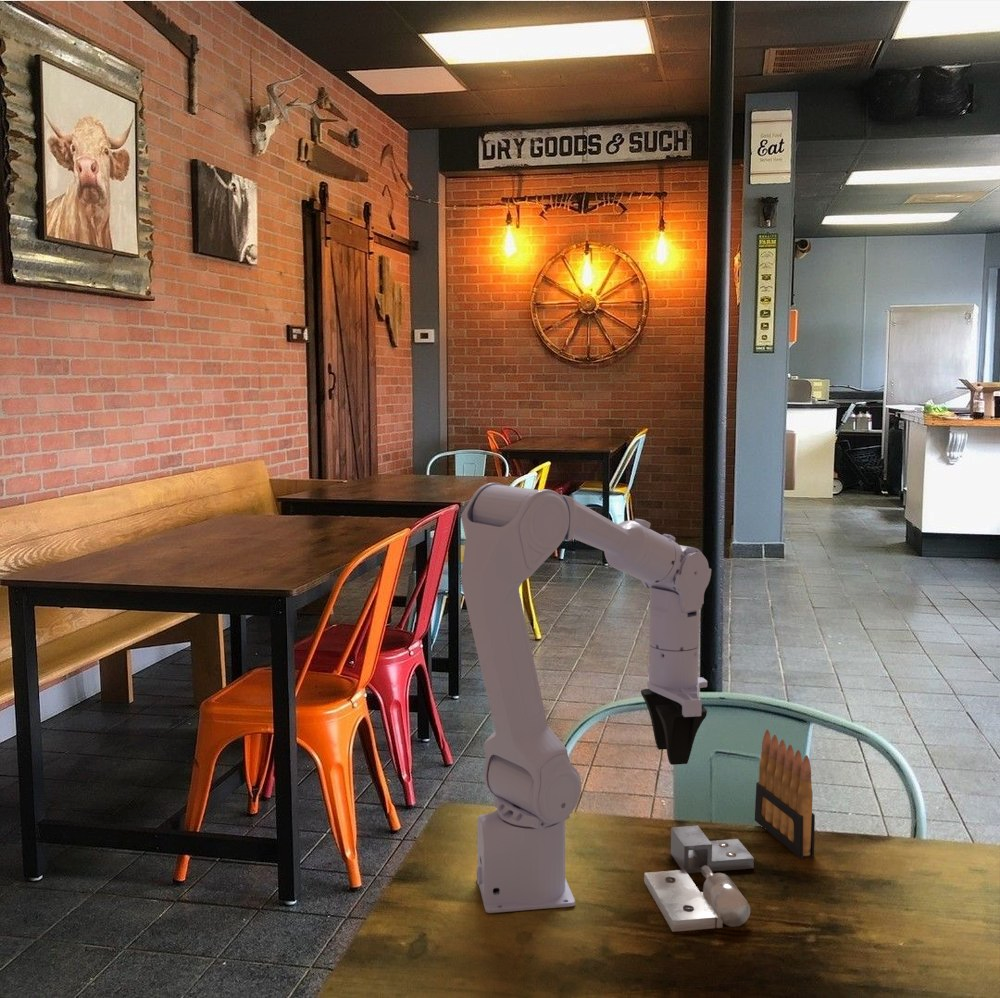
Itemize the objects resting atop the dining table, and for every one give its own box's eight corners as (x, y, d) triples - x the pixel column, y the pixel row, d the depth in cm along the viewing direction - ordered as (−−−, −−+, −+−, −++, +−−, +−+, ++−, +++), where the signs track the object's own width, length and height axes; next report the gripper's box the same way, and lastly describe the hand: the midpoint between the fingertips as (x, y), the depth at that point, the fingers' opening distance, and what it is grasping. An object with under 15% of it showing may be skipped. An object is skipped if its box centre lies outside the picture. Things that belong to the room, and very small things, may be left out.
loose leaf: (683, 873, 114) (684, 846, 113) (670, 853, 118) (671, 827, 118) (753, 868, 115) (754, 841, 114) (737, 848, 120) (738, 822, 119)
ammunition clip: (814, 857, 118) (818, 757, 116) (800, 859, 117) (803, 759, 116) (767, 818, 128) (770, 726, 126) (754, 820, 127) (756, 727, 126)
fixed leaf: (672, 932, 102) (673, 901, 102) (644, 883, 112) (644, 855, 111) (750, 925, 103) (750, 895, 103) (715, 877, 113) (715, 850, 113)
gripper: (728, 660, 114) (725, 777, 116) (686, 628, 128) (684, 732, 130) (667, 663, 113) (665, 780, 115) (632, 630, 127) (630, 735, 129)
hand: (672, 755), depth 122 cm, fingers open, 4 cm apart
